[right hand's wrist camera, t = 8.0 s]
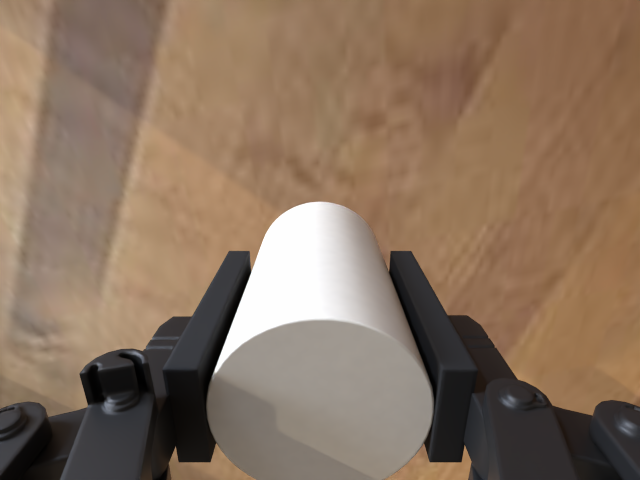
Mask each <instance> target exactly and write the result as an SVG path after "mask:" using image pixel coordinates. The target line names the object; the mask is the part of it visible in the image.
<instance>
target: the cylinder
mask: <svg viewBox="0 0 640 480" xmlns="http://www.w3.org/2000/svg"><path fill="white" fill-rule="evenodd" d="M206 412H207V420H208V423H209V427H210V430H211V433H212V435H213V437H214V439H215V441H216V443H217V444H218V446H219V447H220V449H221V451H222V452H223V453H224V454H225V455H226V456H227V458H228V459H229V460H230V461H231V462H232V463H234V464H235V465H236V466H237V467H238V468H239V469H241V470H242V471H244V472H245V473H246V474H248V475H249V476H251V477H253V478H255V479H257V480H384V479H386V478H388V477H389V476H391V475H392V474H394V473H395V472H397V471H398V470H400V469H401V468H402V467H403V466H405V465H406V464H407V463H408V462H409V461H410V460H411V459H412V458H413V457H414V456H415V455H416V453H417V452H418V451H419V449H420V448H421V447H422V445H423V443H424V442H425V440H426V438H427V436H428V434H429V431H430V428H431V425H432V421H433V415H434V395H433V389H432V385H431V382H430V380H429V377H428V374H427V371H426V369H425V366H424V363H423V361H422V358H421V356H420V353H419V350H418V348H417V345H416V342H415V340H414V337H413V334H412V332H411V329H410V327H409V324H408V321H407V319H406V316H405V313H404V311H403V308H402V305H401V303H400V300H399V298H398V295H397V292H396V290H395V287H394V284H393V282H392V279H391V276H390V274H389V271H388V269H387V266H386V263H385V261H384V258H383V255H382V253H381V250H380V247H379V245H378V242H377V240H376V237H375V235H374V233H373V231H372V229H371V228H370V226H369V225H368V224H367V222H366V221H365V220H364V219H363V218H362V217H361V216H359V215H358V214H357V213H355V212H354V211H352V210H350V209H349V208H346V207H344V206H342V205H338V204H335V203H329V202H311V203H306V204H302V205H299V206H296V207H294V208H292V209H290V210H288V211H286V212H285V213H284V214H282V215H281V216H280V217H279V218H277V219H276V220H275V221H274V223H273V224H272V225H271V226H270V228H269V230H268V231H267V233H266V235H265V238H264V240H263V243H262V245H261V248H260V250H259V253H258V256H257V258H256V261H255V264H254V266H253V269H252V272H251V274H250V277H249V280H248V282H247V285H246V287H245V290H244V293H243V295H242V298H241V301H240V303H239V306H238V309H237V311H236V314H235V317H234V319H233V322H232V325H231V327H230V330H229V332H228V335H227V338H226V340H225V343H224V346H223V348H222V351H221V354H220V356H219V359H218V362H217V364H216V367H215V369H214V372H213V375H212V377H211V380H210V383H209V387H208V391H207V397H206Z"/></svg>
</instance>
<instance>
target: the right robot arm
mask: <svg viewBox="0 0 640 480" xmlns="http://www.w3.org/2000/svg"><path fill="white" fill-rule="evenodd" d="M250 274H251V265H250V251H229V252H228V254H227V256H226V258H225V259H224V261H223V263H222V265H221V266H220V268H219V270H218V272H217V274H216V275H215V277H214V279H213V281H212V282H211V284H210V286H209V288H208V289H207V291H206V293H205V295H204V296H203V298H202V300H201V302H200V304H199V305H198V307H197V309H196V311H195V312H194V314H193V316H192V317H172V318H171V319H169V320H168V321H167V322H165V323H164V324H162V325H161V326H160V327H159V328H158V330H157V331H156V333H155V334H154V336H153V337H152V340H150V342H149V343H148V345H147V346H146V349H144V351H140V350H136V349H120V350H116V351H112V352H108V353H106V354H104V355H101V356H99V357H97V358H95V359H94V360H93V361H91V362H90V363H88V364H87V365H86V366H85V367H84V368H83V370H82V371H81V372H80V378H81V381H82V385H83V388H84V392H85V396H86V399H87V403H88V407H87V408H84V409H81V410H77V411H73V412H69V413H64V414H60V415H56V416H51V417H48V415H47V412H46V409H45V408H44V407H43V406H42V405H41V404H39V403H34V402H23V403H16V404H13V405H10V406H7V407H4V408H1V409H0V480H171V474H170V468H169V461H170V459H171V456H172V454H173V451H174V449H175V446H176V449H177V455H178V460H179V462H211V459H212V455H213V452H214V448H215V445H216V441H215V439H214V437H213V435H212V433H211V430H210V427H209V423H208V420H207V412H206V397H207V391H208V387H209V383H210V380H211V377H212V375H213V372H214V369H215V367H216V364H217V362H218V359H219V356H220V354H221V351H222V348H223V346H224V343H225V340H226V338H227V335H228V332H229V330H230V327H231V325H232V322H233V319H234V317H235V314H236V311H237V309H238V306H239V303H240V301H241V298H242V295H243V293H244V290H245V287H246V285H247V282H248V280H249V277H250ZM389 274H390V276H391V279H392V282H393V284H394V287H395V290H396V292H397V295H398V298H399V300H400V303H401V305H402V308H403V311H404V313H405V316H406V319H407V321H408V324H409V327H410V329H411V332H412V334H413V337H414V340H415V342H416V345H417V348H418V350H419V353H420V356H421V358H422V361H423V363H424V366H425V369H426V371H427V374H428V377H429V380H430V382H431V385H432V389H433V395H434V415H433V421H432V425H431V428H430V431H429V434H428V436H427V438H426V440H425V442H424V444H425V448H426V451H427V454H428V458H429V461H430V462H462V456H463V451H464V445H465V446H466V449H467V451H468V454H469V456H470V459H471V461H472V463H471V468H470V473H469V478H468V480H640V407H638V406H636V405H633V404H630V403H627V402H621V401H615V400H610V401H603V402H601V403H599V404H598V405H597V406H596V407H595V410H594V413H593V416H592V415H587V414H583V413H579V412H574V411H570V410H566V409H562V408H558V407H555V406H552V404H551V403H550V401H549V399H548V398H547V396H546V395H545V394H543V393H542V392H541V391H540V390H539V389H537V388H536V387H534V386H532V385H530V384H528V383H526V382H524V381H520V380H518V379H517V378H516V376H515V375H514V373H513V372H512V370H511V369H510V368H509V366H508V365H507V363H506V362H505V360H504V359H503V357H502V356H501V354H500V353H499V351H498V350H497V349H496V348H495V347H494V344H493V343H492V341H491V340H490V339H488V335H487V334H486V332H485V331H484V329H483V328H482V327H481V325H480V324H478V323H477V322H475V321H474V320H473V319H471V318H470V317H469V316H467V315H447V314H446V312H445V310H444V308H443V307H442V305H441V303H440V301H439V300H438V298H437V296H436V294H435V292H434V291H433V289H432V287H431V285H430V284H429V282H428V280H427V278H426V277H425V275H424V273H423V271H422V270H421V268H420V266H419V264H418V262H417V261H416V259H415V257H414V255H413V254H412V252H411V251H391V255H390V269H389Z"/></svg>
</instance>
